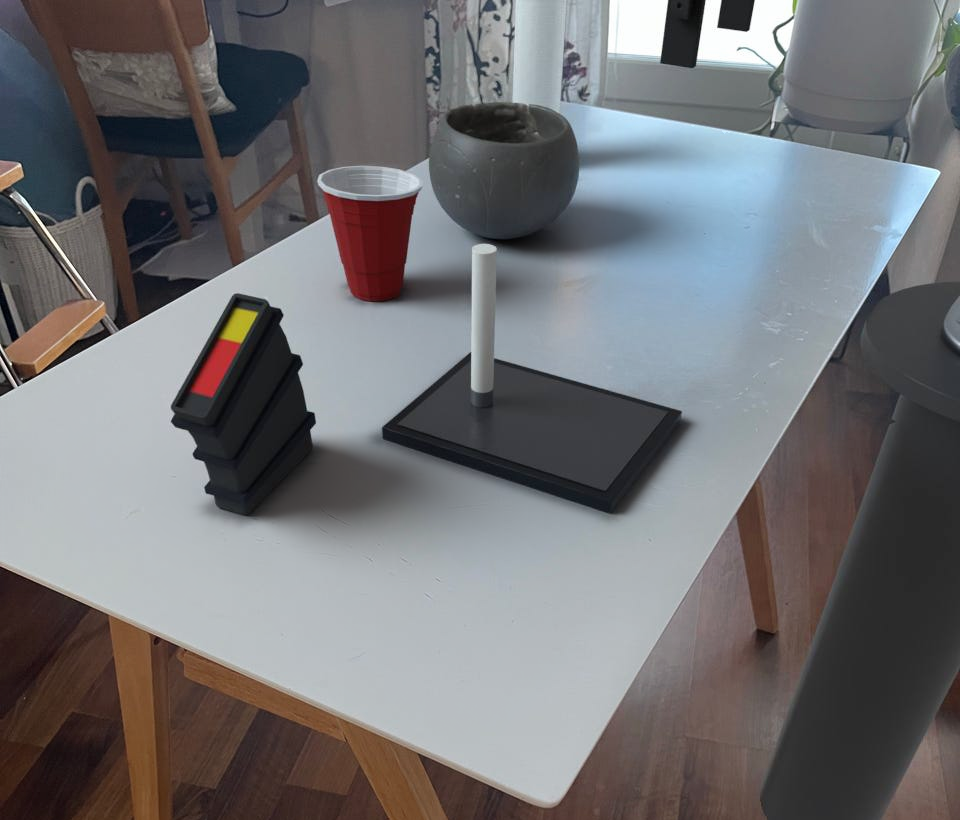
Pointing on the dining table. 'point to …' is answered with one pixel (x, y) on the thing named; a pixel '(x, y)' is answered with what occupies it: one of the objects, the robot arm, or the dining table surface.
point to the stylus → (483, 324)
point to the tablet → (538, 431)
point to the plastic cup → (371, 225)
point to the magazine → (245, 405)
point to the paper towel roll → (539, 52)
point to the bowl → (503, 167)
